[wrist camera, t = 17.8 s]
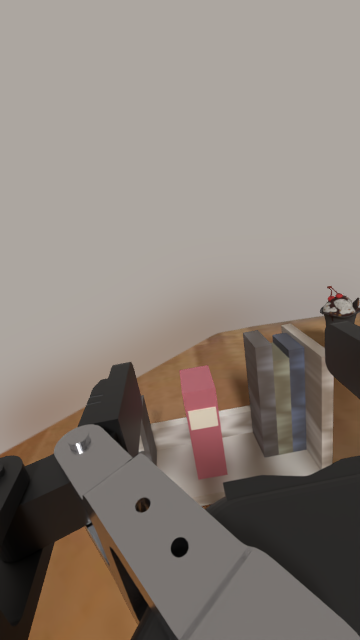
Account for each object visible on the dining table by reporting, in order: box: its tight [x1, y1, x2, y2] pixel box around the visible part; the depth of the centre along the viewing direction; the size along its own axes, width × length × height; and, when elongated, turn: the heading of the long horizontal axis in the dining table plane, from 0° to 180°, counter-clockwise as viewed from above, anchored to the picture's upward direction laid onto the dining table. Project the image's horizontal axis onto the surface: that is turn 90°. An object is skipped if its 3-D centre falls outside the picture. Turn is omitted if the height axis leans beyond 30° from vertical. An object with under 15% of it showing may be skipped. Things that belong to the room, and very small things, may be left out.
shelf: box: [139, 324, 334, 506], centre depth 33 cm, size 26×9×16 cm, turn 94°
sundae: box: [320, 286, 360, 326], centre depth 54 cm, size 7×7×15 cm
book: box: [180, 365, 228, 480], centre depth 33 cm, size 4×5×12 cm
